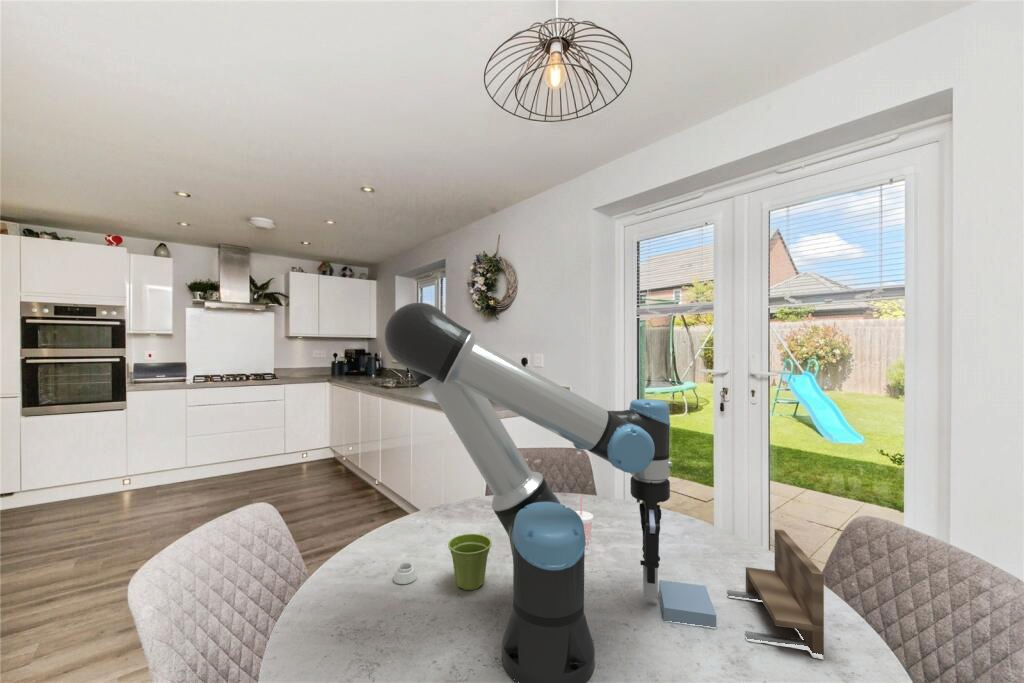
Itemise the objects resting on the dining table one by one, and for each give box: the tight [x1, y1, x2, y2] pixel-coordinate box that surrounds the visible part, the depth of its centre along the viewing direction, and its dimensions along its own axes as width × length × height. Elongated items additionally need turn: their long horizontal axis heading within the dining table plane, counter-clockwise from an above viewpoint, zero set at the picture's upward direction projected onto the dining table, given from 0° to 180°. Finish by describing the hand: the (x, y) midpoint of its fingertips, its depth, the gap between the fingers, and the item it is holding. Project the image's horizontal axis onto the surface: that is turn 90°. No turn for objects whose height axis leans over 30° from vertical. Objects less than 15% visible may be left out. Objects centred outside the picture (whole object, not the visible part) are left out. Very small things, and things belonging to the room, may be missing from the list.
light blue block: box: [658, 579, 717, 628], centre depth 84 cm, size 10×9×3 cm
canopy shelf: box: [726, 528, 825, 656], centre depth 81 cm, size 18×11×14 cm, turn 166°
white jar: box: [392, 562, 418, 585], centre depth 94 cm, size 5×3×5 cm
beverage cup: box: [574, 494, 594, 556], centre depth 108 cm, size 6×6×14 cm
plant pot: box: [447, 533, 493, 591], centre depth 93 cm, size 9×9×9 cm
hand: (650, 595), depth 86 cm, fingers closed
